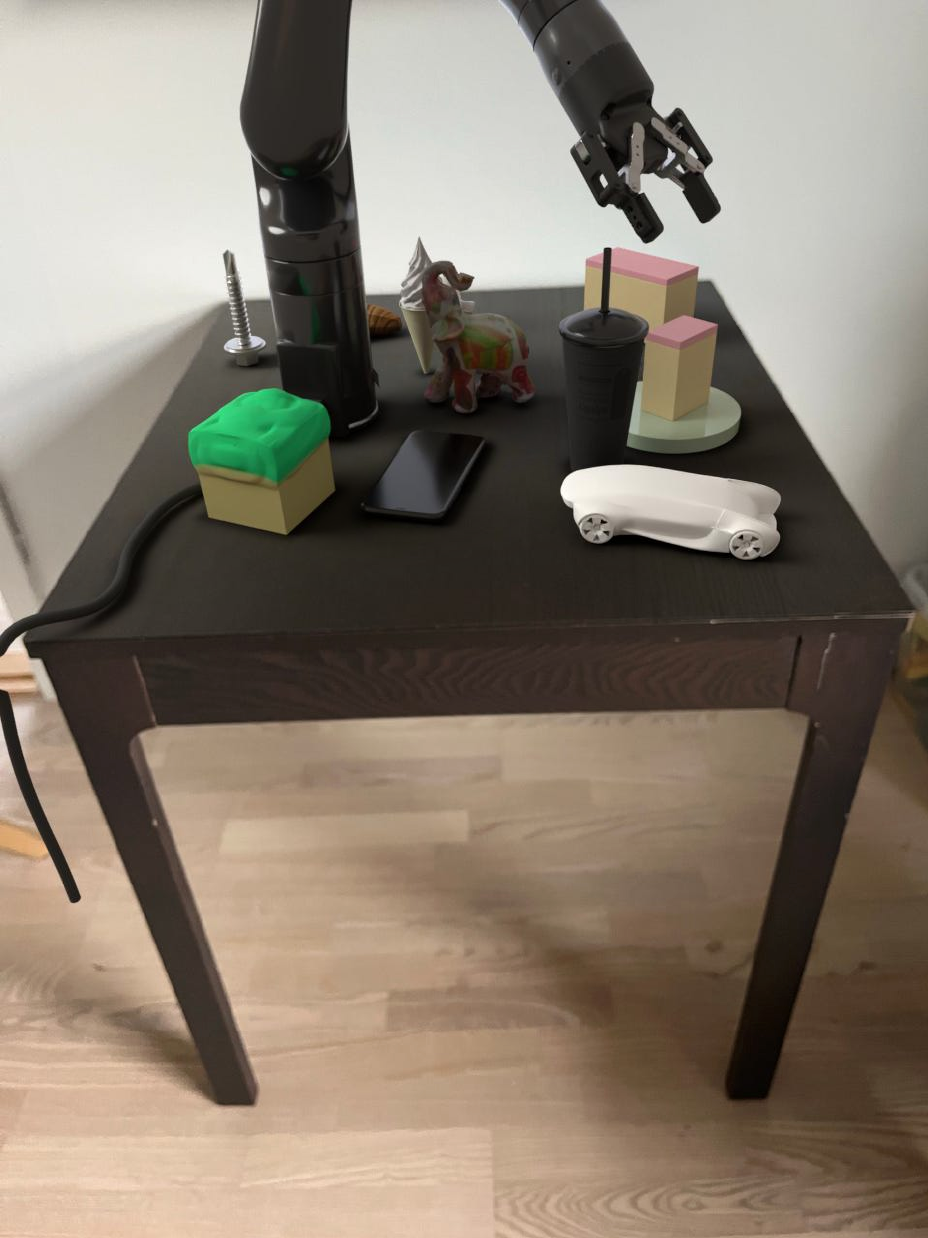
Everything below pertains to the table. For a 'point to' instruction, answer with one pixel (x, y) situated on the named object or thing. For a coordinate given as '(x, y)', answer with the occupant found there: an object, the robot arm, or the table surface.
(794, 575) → the table surface
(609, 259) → the drinking cup
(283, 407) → the cake
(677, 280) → the cake
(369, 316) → the croissant
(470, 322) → the figurine
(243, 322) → the screw
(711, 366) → the cake slice
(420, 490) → the smartphone
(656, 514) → the toy car
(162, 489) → the table surface
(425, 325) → the ice cream cone
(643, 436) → the plate
